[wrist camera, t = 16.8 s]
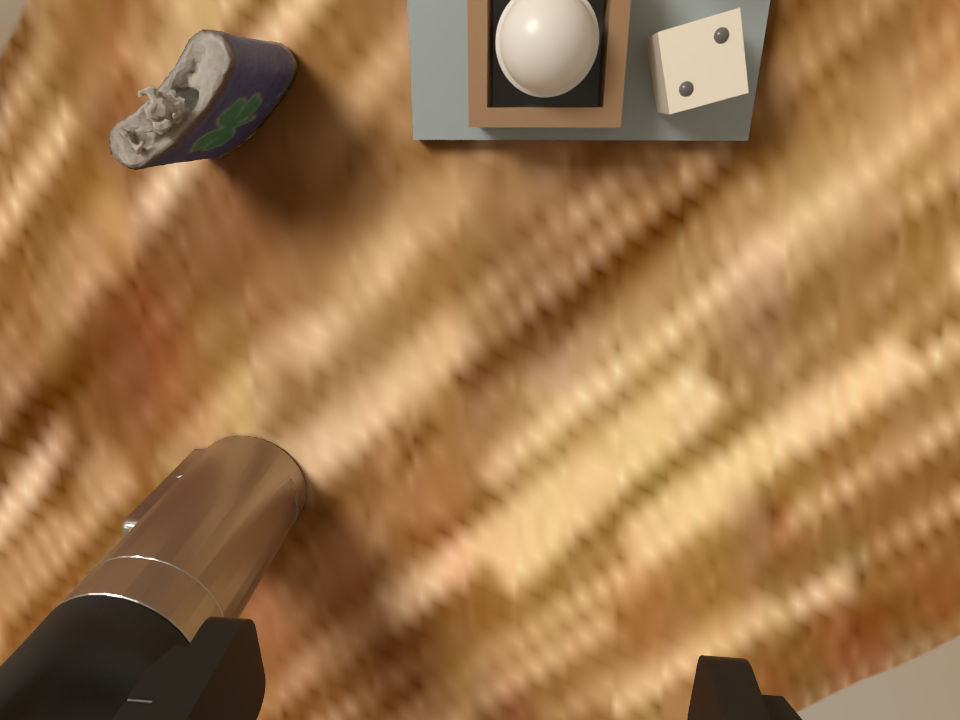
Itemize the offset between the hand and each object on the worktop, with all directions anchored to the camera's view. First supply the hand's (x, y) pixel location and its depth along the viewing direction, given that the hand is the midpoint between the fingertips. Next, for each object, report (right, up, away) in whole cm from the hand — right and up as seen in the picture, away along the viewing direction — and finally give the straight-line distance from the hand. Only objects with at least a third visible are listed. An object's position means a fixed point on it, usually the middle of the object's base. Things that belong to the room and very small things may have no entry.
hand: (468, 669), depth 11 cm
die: (+12, +22, +24) cm, 35 cm away
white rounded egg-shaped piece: (+4, +23, +24) cm, 33 cm away
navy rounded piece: (-15, +22, +29) cm, 39 cm away
